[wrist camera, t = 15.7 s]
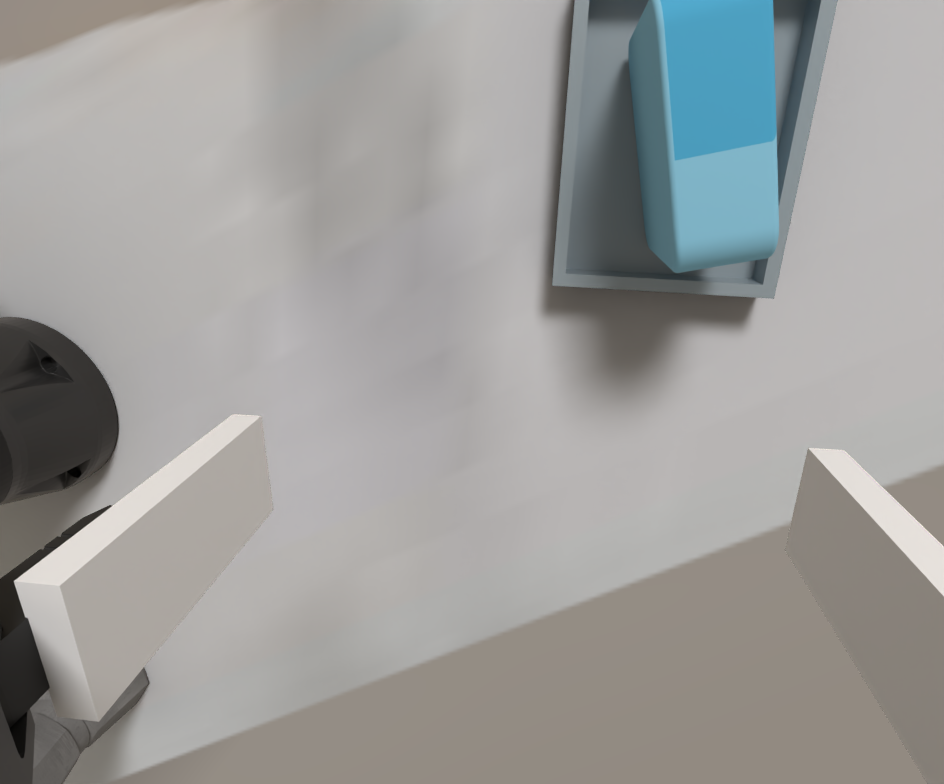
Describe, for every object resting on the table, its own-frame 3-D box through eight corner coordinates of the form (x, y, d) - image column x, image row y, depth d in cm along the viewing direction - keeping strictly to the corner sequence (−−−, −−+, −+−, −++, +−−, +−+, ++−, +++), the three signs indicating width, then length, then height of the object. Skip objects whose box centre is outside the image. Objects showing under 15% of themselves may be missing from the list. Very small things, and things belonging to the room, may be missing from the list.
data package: (718, 235, 38) (781, 262, 27) (645, 248, 39) (677, 279, 28) (706, 23, 34) (774, -48, 23) (626, 43, 35) (653, -16, 24)
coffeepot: (180, 698, 62) (37, 893, 45) (123, 726, 65) (-31, 919, 48) (77, 590, 59) (-119, 757, 42) (22, 624, 62) (-181, 794, 45)
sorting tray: (553, 277, 41) (552, 285, 38) (577, -23, 35) (577, -40, 32) (759, 289, 39) (773, 298, 37) (823, -25, 33) (846, -43, 30)
